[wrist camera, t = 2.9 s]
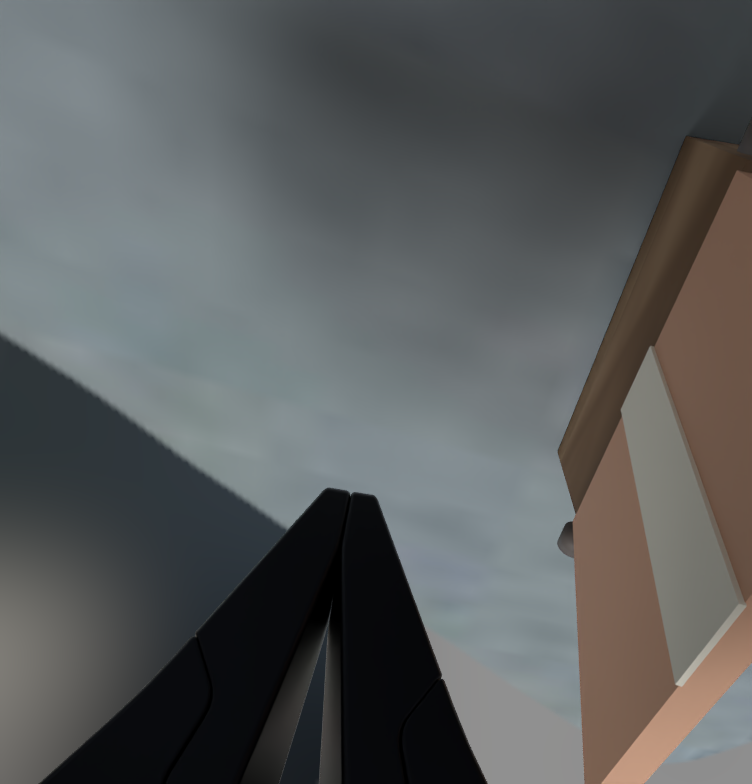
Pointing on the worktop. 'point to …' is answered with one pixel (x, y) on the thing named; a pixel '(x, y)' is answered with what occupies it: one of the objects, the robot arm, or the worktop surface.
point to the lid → (672, 522)
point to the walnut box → (647, 302)
